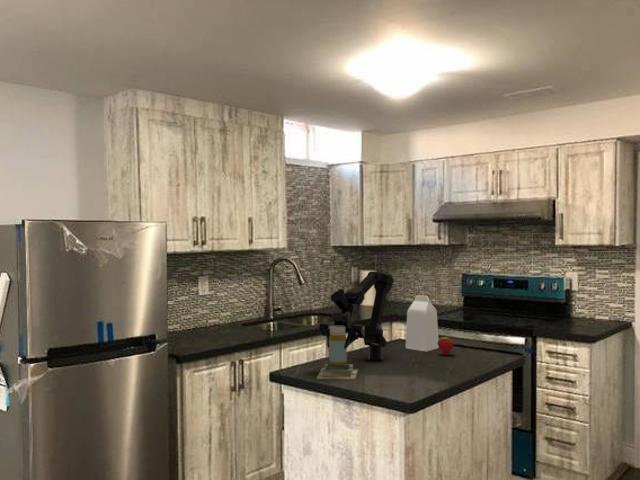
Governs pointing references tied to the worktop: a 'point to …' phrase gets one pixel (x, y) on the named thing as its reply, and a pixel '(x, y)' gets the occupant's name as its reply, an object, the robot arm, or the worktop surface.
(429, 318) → the milk
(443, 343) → the strawberry
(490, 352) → the worktop surface
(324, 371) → the square rimmed tray
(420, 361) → the worktop surface
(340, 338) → the bottle
